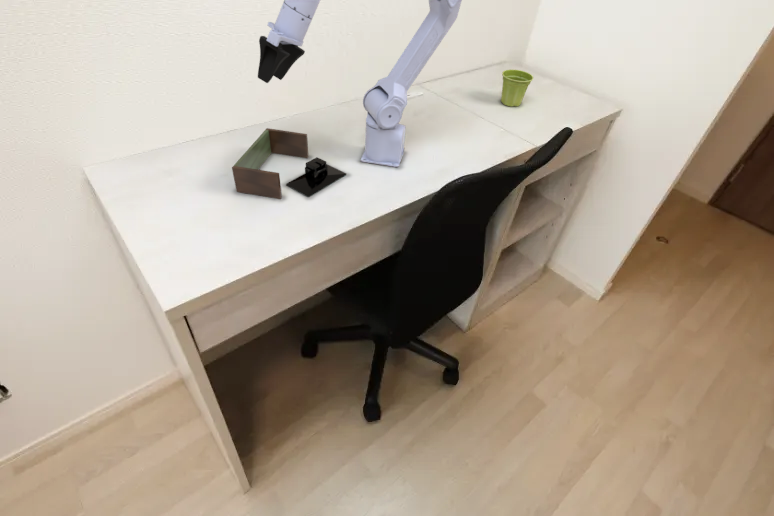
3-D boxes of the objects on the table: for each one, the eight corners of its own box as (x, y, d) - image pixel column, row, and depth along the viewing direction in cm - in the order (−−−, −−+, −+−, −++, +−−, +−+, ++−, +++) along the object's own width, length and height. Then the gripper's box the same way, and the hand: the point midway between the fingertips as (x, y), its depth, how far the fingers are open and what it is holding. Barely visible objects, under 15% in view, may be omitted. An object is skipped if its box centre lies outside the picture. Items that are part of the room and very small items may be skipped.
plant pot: (529, 102, 141) (537, 74, 135) (519, 112, 135) (527, 83, 129) (502, 94, 145) (508, 67, 139) (491, 103, 139) (497, 75, 133)
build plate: (308, 198, 95) (307, 179, 92) (284, 185, 98) (282, 167, 95) (346, 174, 103) (346, 157, 100) (323, 163, 106) (322, 146, 103)
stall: (308, 156, 108) (307, 134, 104) (280, 199, 94) (277, 174, 90) (269, 150, 109) (266, 128, 105) (236, 192, 95) (231, 167, 91)
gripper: (291, 1, 88) (265, 65, 94) (264, -6, 75) (236, 69, 81) (322, 21, 89) (294, 83, 95) (301, 18, 76) (270, 90, 82)
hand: (269, 78), depth 88 cm, fingers open, 7 cm apart
